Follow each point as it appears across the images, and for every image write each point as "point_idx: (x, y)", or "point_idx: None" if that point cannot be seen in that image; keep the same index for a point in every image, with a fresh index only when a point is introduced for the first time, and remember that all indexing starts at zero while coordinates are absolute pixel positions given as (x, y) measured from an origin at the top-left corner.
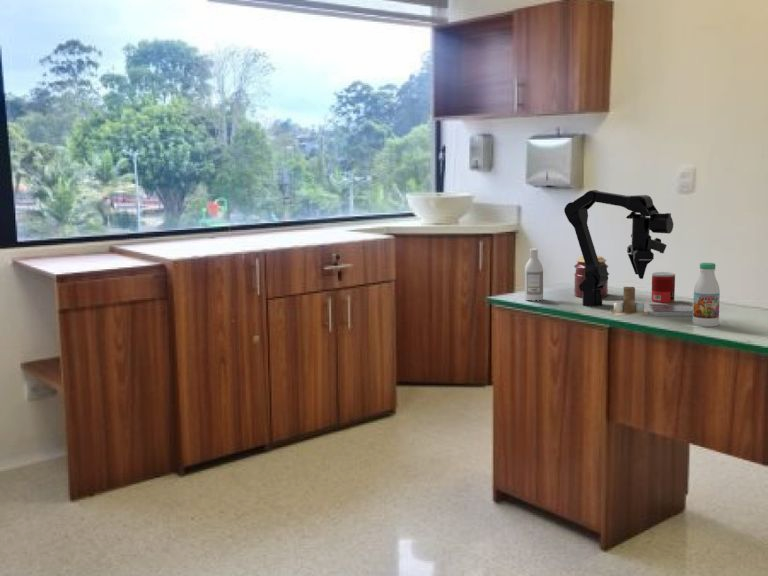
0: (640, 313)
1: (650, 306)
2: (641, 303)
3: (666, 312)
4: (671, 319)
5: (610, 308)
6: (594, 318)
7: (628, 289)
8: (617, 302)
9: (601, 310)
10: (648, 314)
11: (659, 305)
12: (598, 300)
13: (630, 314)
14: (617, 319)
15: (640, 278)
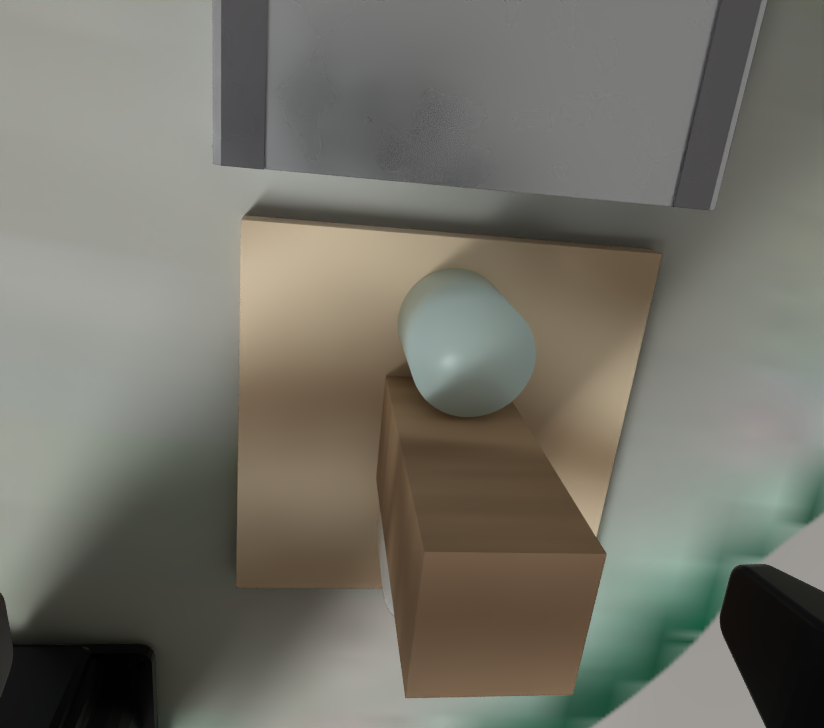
0: (550, 328)
1: (367, 178)
2: (494, 338)
3: (752, 46)
4: (812, 11)
5: (254, 582)
6: (610, 702)
7: (578, 632)
8: (389, 593)
9: (257, 640)
10: (616, 251)
11: (292, 23)
12: (84, 725)
13: (582, 434)
14: (685, 546)
15: (750, 614)
